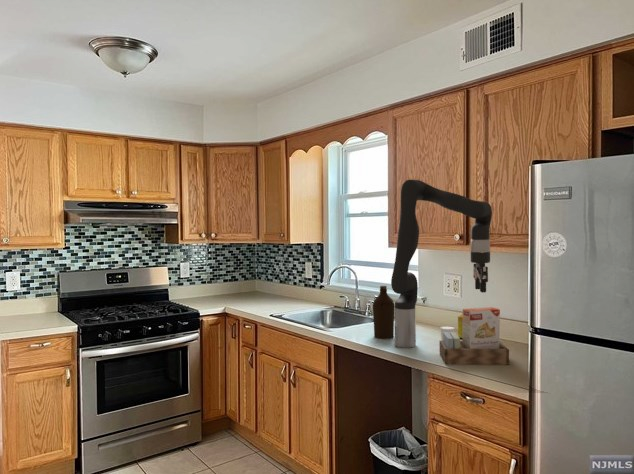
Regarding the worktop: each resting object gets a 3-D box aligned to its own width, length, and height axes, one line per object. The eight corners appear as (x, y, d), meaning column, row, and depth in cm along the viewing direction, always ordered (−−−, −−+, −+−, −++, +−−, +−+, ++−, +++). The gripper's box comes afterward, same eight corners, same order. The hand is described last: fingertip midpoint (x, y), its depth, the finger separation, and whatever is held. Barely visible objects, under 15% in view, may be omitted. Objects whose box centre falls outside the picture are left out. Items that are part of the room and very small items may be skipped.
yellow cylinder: (462, 336, 241) (462, 314, 240) (474, 338, 237) (474, 315, 236) (457, 338, 236) (457, 316, 236) (469, 340, 232) (469, 317, 232)
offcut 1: (447, 363, 197) (447, 338, 196) (443, 355, 207) (443, 332, 207) (453, 363, 196) (453, 338, 196) (448, 355, 207) (448, 332, 207)
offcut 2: (454, 363, 196) (454, 338, 196) (449, 355, 207) (449, 332, 207) (460, 363, 196) (460, 338, 196) (455, 355, 207) (454, 332, 207)
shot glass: (452, 340, 233) (452, 325, 233) (457, 344, 226) (457, 329, 226) (438, 340, 233) (438, 326, 232) (442, 344, 226) (442, 329, 226)
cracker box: (470, 363, 196) (470, 311, 195) (461, 359, 202) (461, 308, 201) (500, 360, 200) (500, 308, 199) (491, 356, 206) (491, 306, 205)
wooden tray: (445, 364, 195) (445, 349, 195) (439, 354, 209) (439, 340, 209) (509, 364, 193) (508, 349, 193) (499, 355, 207) (499, 340, 207)
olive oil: (398, 338, 239) (397, 286, 238) (377, 339, 236) (377, 287, 236) (389, 333, 249) (389, 284, 248) (370, 335, 247) (369, 285, 246)
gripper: (467, 249, 207) (467, 288, 207) (474, 252, 192) (475, 293, 193) (485, 249, 206) (485, 288, 207) (494, 251, 192) (494, 293, 192)
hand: (480, 290), depth 200 cm, fingers open, 8 cm apart
